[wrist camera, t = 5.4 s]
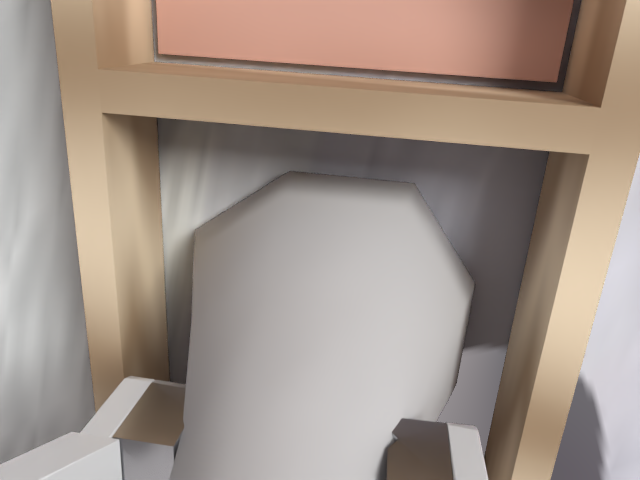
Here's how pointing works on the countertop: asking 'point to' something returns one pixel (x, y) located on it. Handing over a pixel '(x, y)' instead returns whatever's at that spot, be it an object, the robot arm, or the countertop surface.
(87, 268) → the oak caddy
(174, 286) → the countertop surface
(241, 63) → the countertop surface
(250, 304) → the flask
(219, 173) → the countertop surface
